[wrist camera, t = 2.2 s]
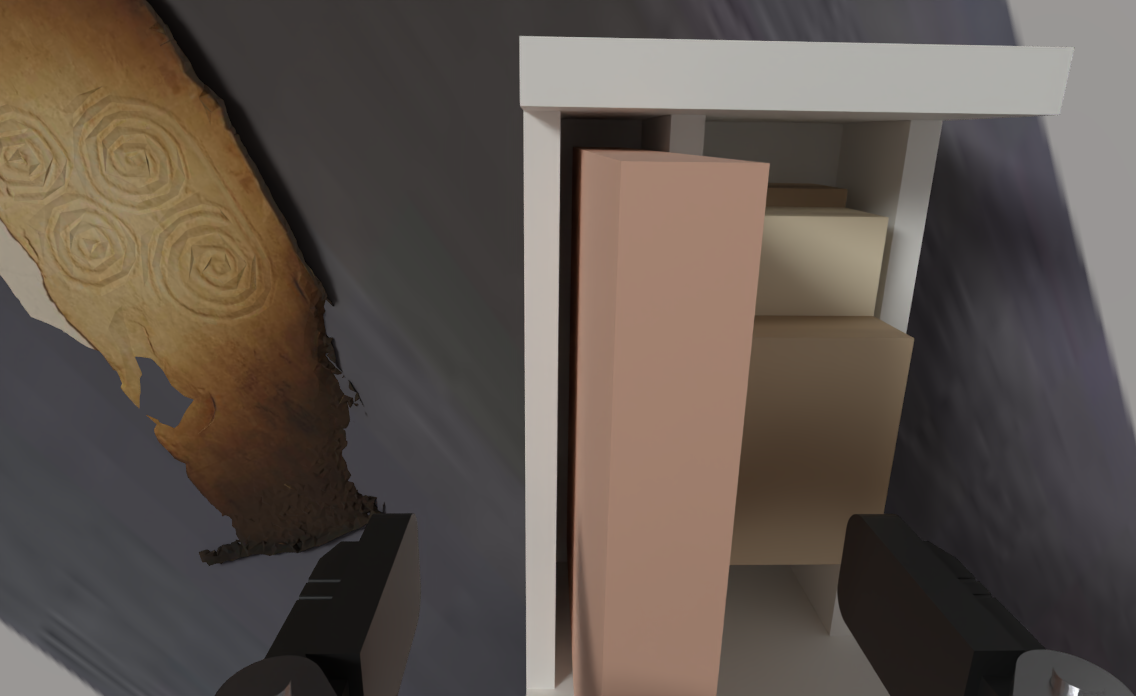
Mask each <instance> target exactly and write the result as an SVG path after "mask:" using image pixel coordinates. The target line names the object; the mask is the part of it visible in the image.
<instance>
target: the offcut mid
mask: <svg viewBox="0 0 1136 696" xmlns="http://www.w3.org/2000/svg"><path fill="white" fill-rule="evenodd" d="M888 219H889V217H885V216H880V215H876V214H872V213H867V212H863V211H859V210H854V209H850V208H845V207H765V217H764V227H763V237H762V247H761V257H760V266H759V276H758V286H757V296H756V306H755V315H777V316H874V310H875V303H876V297H877V290H878V284H879V277H880V271H881V264H882V258H883V252H884V245H885V239H886V232H887V226H888Z"/></svg>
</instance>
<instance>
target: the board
mask: <svg viewBox="0 0 1136 696" xmlns="http://www.w3.org/2000/svg"><path fill="white" fill-rule="evenodd" d="M769 167H770V163H763V162H754V161H744V160H735V159H726V158H717V157H707V156H698V155H689V154H680V153H670V152H661V151H652V150H643V149H633V148H619V147H573V166H572V229H571V293H570V356H569V420H568V483H567V563H568V584H569V604H570V625H571V646H572V666H573V687H574V696H716V694H717V684H718V674H719V664H720V654H721V644H722V635H723V625H724V615H725V605H726V595H727V585H728V575H729V565H730V555H731V545H732V535H733V525H734V515H735V505H736V495H737V485H738V475H739V465H740V455H741V446H742V436H743V426H744V416H745V406H746V396H747V386H748V376H749V366H750V356H751V346H752V336H753V326H754V316H755V306H756V296H757V286H758V276H759V266H760V257H761V247H762V237H763V227H764V217H765V207H766V197H767V187H768V177H769Z"/></svg>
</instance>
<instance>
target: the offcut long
mask: <svg viewBox="0 0 1136 696" xmlns="http://www.w3.org/2000/svg"><path fill="white" fill-rule="evenodd" d="M847 192H848V189H843V188H837V187H831V186H825V185H819V184H809V183H768V187H767V197H766V207H846V199H847Z"/></svg>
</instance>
